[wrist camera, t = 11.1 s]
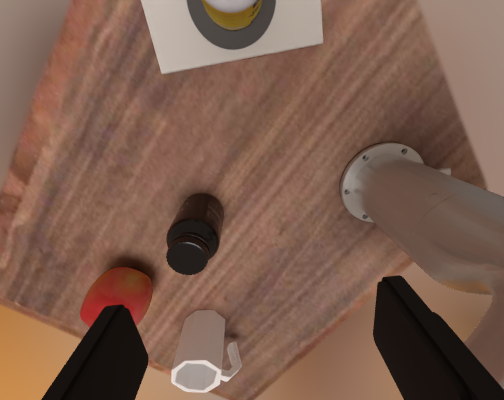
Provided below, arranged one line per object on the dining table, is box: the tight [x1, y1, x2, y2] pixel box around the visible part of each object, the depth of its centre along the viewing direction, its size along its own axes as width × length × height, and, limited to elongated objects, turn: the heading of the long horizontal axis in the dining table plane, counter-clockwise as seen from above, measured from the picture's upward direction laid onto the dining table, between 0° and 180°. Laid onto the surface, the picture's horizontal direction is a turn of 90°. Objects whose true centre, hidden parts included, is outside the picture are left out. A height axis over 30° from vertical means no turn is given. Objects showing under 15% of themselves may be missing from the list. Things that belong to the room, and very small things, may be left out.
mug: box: [172, 310, 242, 392], centre depth 45 cm, size 12×9×10 cm
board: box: [141, 0, 323, 74], centre depth 29 cm, size 20×12×1 cm, turn 99°
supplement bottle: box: [166, 194, 224, 275], centre depth 34 cm, size 7×7×12 cm
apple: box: [80, 267, 153, 327], centre depth 40 cm, size 10×10×10 cm
